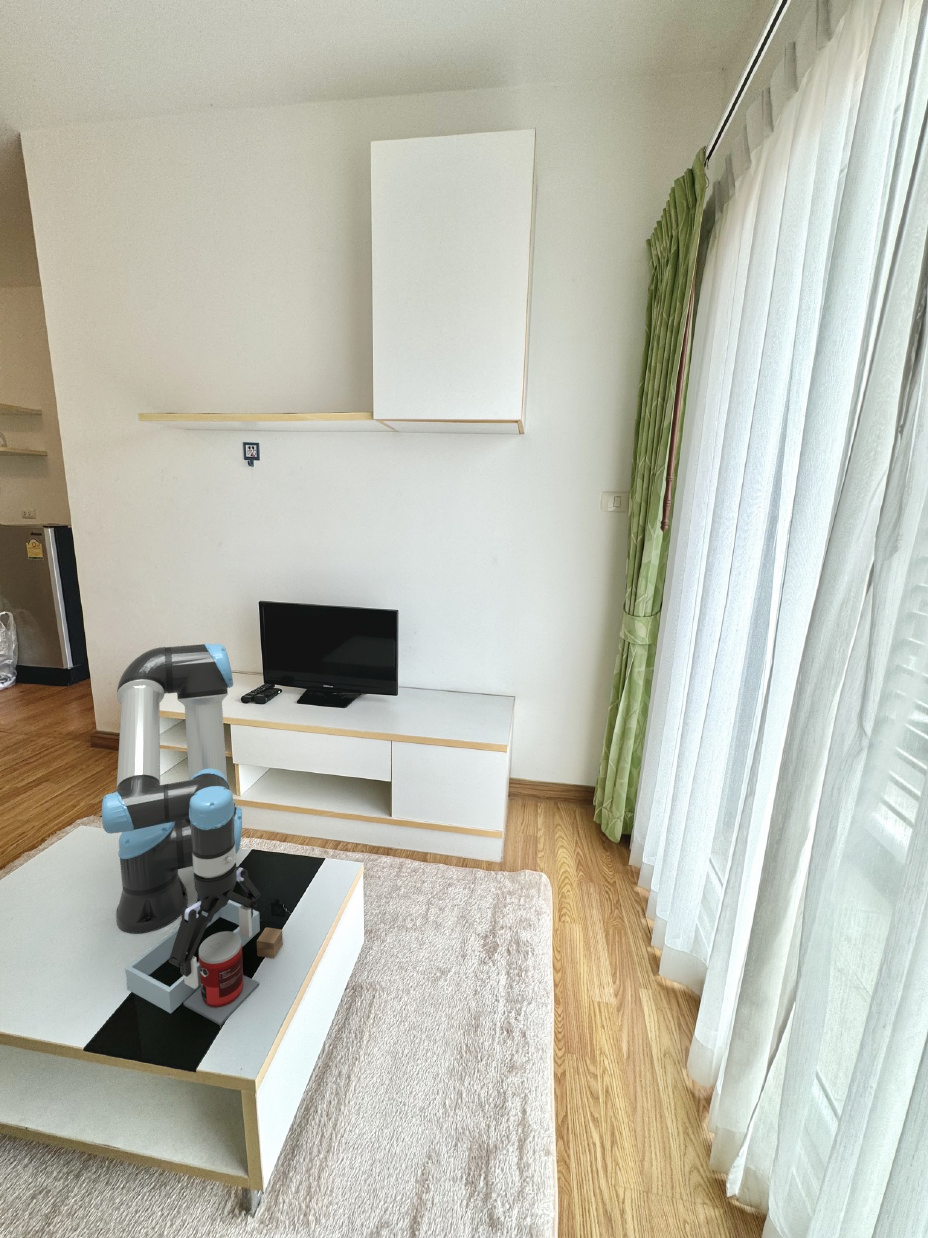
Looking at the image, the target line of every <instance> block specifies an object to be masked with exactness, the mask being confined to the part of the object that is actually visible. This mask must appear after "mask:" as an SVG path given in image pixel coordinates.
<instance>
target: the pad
mask: <svg viewBox="0 0 928 1238" xmlns="http://www.w3.org/2000/svg"><path fill="white" fill-rule="evenodd" d="M258 987H260V982H259V981H256V980H254V979H252V978H250V977H248V976H247V975H244V974H243V987H242V990H241V993H240V994H239V996H238V997H237V998H236V999H235V1000H234V1001H232V1002H231V1003H229V1004H227V1005H224V1006H220V1007H212V1006H209V1005H207V1004H206V1003H205V1002H204V1001H203V999H202V996H201V986H200V987H199V988H198V989H197V990H196V991H194V992H193V993H192V994H191V995H190V996H189V997H188V998H187V999H186V1000H185V1001H184V1002H183V1006H184V1007H186V1008H188V1009H189V1010H191V1011H192V1012H195V1013H196V1014H199V1015H201V1016H203V1017H204V1018H206V1019H208V1020H210V1021H212V1022H213V1023H215V1024H217V1025H219V1026H222V1025H223V1024H224V1023H225V1022H226V1021H227V1020H228V1019H229V1018H230V1017H231V1015H232V1014H233V1013H235V1011H236V1010H237V1009H238V1008H240V1006H242V1004H243V1003H244V1002H245V1001H246V1000H247V999H248V998H249V997H250V996H251V995H252V994H253V992H254V991H255V990H256V989H257V988H258Z"/></svg>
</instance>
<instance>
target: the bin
mask: <svg viewBox="0 0 928 1238" xmlns="http://www.w3.org/2000/svg"><path fill="white" fill-rule="evenodd" d="M241 905H242V903H239V902H237V901H235V900H232V899H229V901H228V902H227V905H226V906H224V907H222V908H221V909H220V910H219V911H218V912H217V913H216V914H214V916H213V919H212V921H211V922H210V923H208V925H207V927H206V929H207V928H208V927H209V926H211V925H212V924H213V923H214V922H216V920H218V919H219V918H222V919H224V920H227V921H229V922H231V923H233V924H235V925H238V927H237V928H236V929H234V930H233V931H232V932H234V933H236V934H238V935H239V936H240V938H241V942H242V948H243V947H244V946H246V944H247V943H248V942H249V941H251V939H253V937H255V936H256V935H257V934H258V933H260V931H261V929H260V926H261V925H260V912H259V911H257V910H256V909H253V917H252V919H251V922H252V936H251V937H250V938H249V937H247V936H245V935H242V934H240V929H239V906H241ZM202 915H205V916H207V915H208V913H206V912H204V911H202ZM178 929H179V926H178V927H176V928H175V929H174V930H173V931H171V932H170V933H169V934H167V935H166V936H165V937H164V938H163V939H162V940H160V941H159V942H157V943H156V944H155V945H154V946H152V947H151V948H150V949H149V950H147V951H145V953H144V954H142V955H140V956H139V957H138V958H137V959H135V960H134V961H133V962H132V963H130V964H129V965H128V966H126V968H124V969H125V979H126V989H127V990H128V991H130V992H131V993H133V994H134V995H137V996H138V997H140V998H142V999H144V1000H146V1001H147V1002H149V1003H150V1004H152V1005H155V1006H156V1007H158V1008H160V1009H162V1010H163V1011H165V1012H167V1013H168V1014H172V1013H173V1012H174V1011H175V1010H176V1009H177V1008H179V1006H181V1005H182V1003H184V1002H185V1001H186V1000H187V999H188V998H189V997H190V996H191V995H192V994H193V993H194V992H196V991H197V990H198V989H199V988H200V987H201V983H200V968H199V961H197V975H198V987H197V988H196V989H194V988H192V987H190V986H188V985H186V984H185V982H184V975H183V974H182V976H181V977H180V978H179V979H177V981H175V982H174V983H173V984H171V986H169V985H166V984H164V983H163V982H161V981H159V980H157V979H155V978H153V977H152V976H150V975H151V974H152V973H153V972H154V971H156V970H157V969H159V967H161V966H163V964H164V963H166V962H167V961H169V958H170V955H171V952H172V949H173V945H174V942H175V939H176V936H177V933H178Z"/></svg>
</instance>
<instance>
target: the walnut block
mask: <svg viewBox="0 0 928 1238" xmlns="http://www.w3.org/2000/svg"><path fill="white" fill-rule="evenodd" d="M283 942H284V939H283V929H279V928H272V927H265V928H264V930H263V931H262V932H261V934H260V935H259V937H258V939H257V940H256V951H257V952H256V955H257V957H262V958H267V959H273V960H274V959H276V957H277V955H278V954H279V951H280V950H281V948H282V947H283V944H284V943H283Z"/></svg>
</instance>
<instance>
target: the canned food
mask: <svg viewBox="0 0 928 1238" xmlns="http://www.w3.org/2000/svg"><path fill="white" fill-rule="evenodd" d="M198 962H199V968H200V983H201V986H200V987H201V996H202V999H203V1001H204V1002H205V1003H206V1004H207V1005H209V1006H212V1007H220V1006H224V1005H227V1004H229V1003H231V1002H232V1001H234V1000H235V999H236V998H237V997H238V996H239V994H240V993H241V990H242V987H243V975H244V971H243V970H244V969H243V964H244V963H243V947H242V942H241V938H240V936H239V935H238V934H236V933H234V932H233V931H229V930H226V931H219V932H216V933H214V934H211V935H210V936H208V937H207V938H205V939H204V940H203V941H202V943H201V944H200V945H199V947H198Z"/></svg>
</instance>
